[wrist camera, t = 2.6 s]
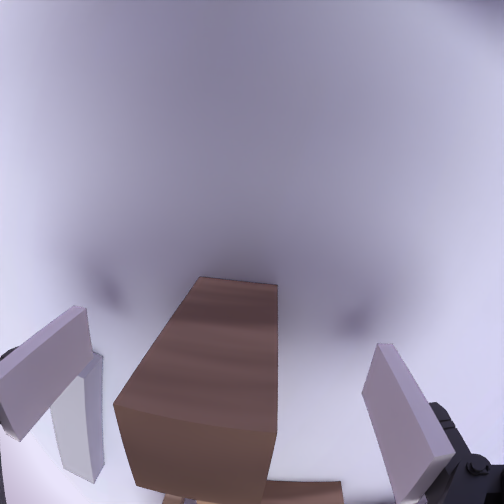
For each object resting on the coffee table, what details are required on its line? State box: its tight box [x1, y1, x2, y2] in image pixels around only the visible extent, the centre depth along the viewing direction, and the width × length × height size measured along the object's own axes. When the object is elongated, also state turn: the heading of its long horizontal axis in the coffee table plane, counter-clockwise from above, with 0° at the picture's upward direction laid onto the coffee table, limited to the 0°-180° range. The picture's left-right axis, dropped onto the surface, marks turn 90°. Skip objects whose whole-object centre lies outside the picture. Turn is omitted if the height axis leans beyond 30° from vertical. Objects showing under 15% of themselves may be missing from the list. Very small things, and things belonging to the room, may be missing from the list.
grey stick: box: [50, 352, 104, 484], centre depth 19 cm, size 14×3×3 cm, turn 163°
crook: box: [113, 277, 344, 504], centre depth 14 cm, size 20×12×10 cm, turn 175°
